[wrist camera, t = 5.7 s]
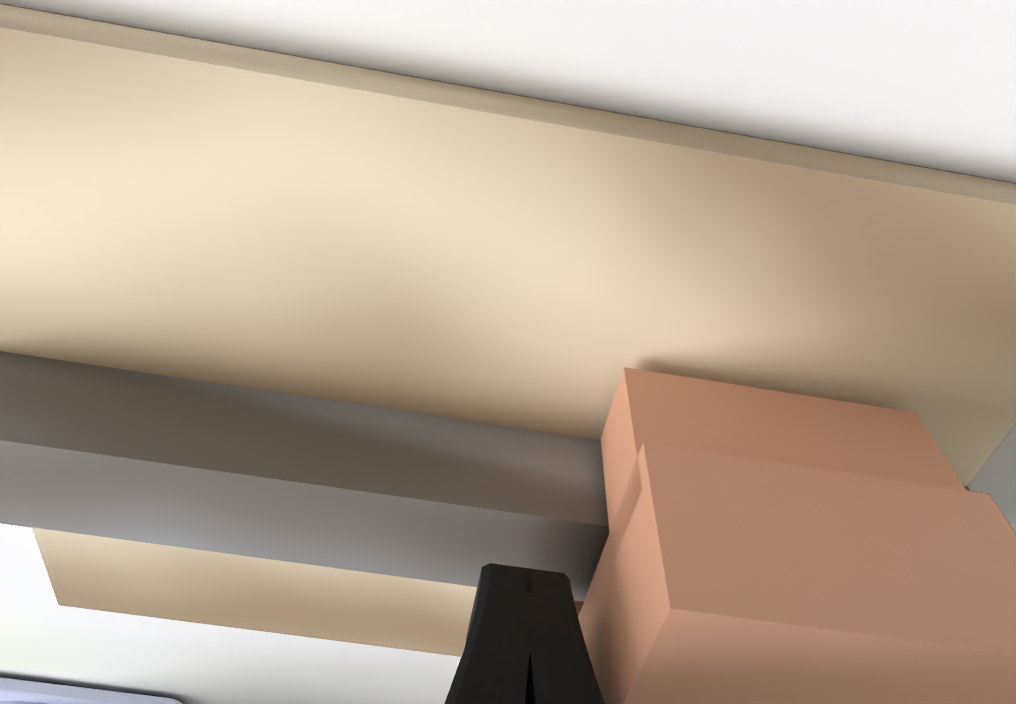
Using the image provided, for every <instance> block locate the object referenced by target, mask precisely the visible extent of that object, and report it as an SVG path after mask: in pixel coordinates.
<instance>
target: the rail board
mask: <svg viewBox="0 0 1016 704" xmlns="http://www.w3.org/2000/svg"><path fill="white" fill-rule="evenodd" d="M624 367H626V368H632V369H639V370H645V371H651V372H658V373H664V374H671V375H677V376H684V377H690V378H697V379H703V380H710V381H716V382H722V383H729V384H735V385H742V386H748V387H755V388H761V389H768V390H774V391H780V392H787V393H793V394H800V395H806V396H813V397H819V398H826V399H832V400H839V401H845V402H851V403H858V404H864V405H871V406H877V407H884V408H890V409H897V410H903V411H909V412H916V413H917V414H918V416H919V418H920V419H921V421H922V422H923V424H924V425H925V427H926V428H927V430H928V432H929V433H930V435H931V436H932V438H933V439H934V441H935V442H936V444H937V446H938V447H939V449H940V450H941V452H942V453H943V455H944V456H945V458H946V460H947V461H948V463H949V464H950V466H951V467H952V469H953V470H954V472H955V473H956V475H957V477H958V478H959V480H960V481H961V483H962V484H963V486H964V487H965V489H966V490H967V491H970V490H969V488H968V487H967V486H968V485H969V483H970V482H971V481H972V480H973V478H974V477H975V476H976V474H977V473H978V472H979V470H980V469H981V468H982V467H983V465H984V464H985V463H986V461H987V460H988V459H989V458H990V456H991V455H992V454H993V452H994V451H995V450H996V448H997V447H998V446H999V445H1000V443H1001V442H1002V441H1003V439H1004V438H1005V437H1006V435H1007V434H1008V433H1009V432H1010V430H1011V429H1012V428H1013V426H1014V425H1015V424H1016V184H1015V183H1009V182H1003V181H998V180H992V179H986V178H981V177H975V176H969V175H964V174H958V173H952V172H947V171H941V170H936V169H930V168H924V167H919V166H913V165H907V164H902V163H896V162H890V161H885V160H879V159H873V158H868V157H862V156H856V155H851V154H845V153H839V152H834V151H828V150H822V149H817V148H811V147H806V146H800V145H794V144H789V143H783V142H777V141H772V140H766V139H760V138H755V137H749V136H743V135H738V134H732V133H726V132H721V131H715V130H709V129H704V128H698V127H692V126H687V125H681V124H676V123H670V122H664V121H659V120H653V119H647V118H642V117H636V116H630V115H625V114H619V113H613V112H608V111H602V110H596V109H591V108H585V107H579V106H574V105H568V104H562V103H557V102H551V101H546V100H540V99H534V98H529V97H523V96H517V95H512V94H506V93H500V92H495V91H489V90H483V89H478V88H472V87H466V86H461V85H455V84H449V83H444V82H438V81H433V80H427V79H421V78H416V77H410V76H404V75H399V74H393V73H387V72H382V71H376V70H370V69H365V68H359V67H353V66H348V65H342V64H336V63H331V62H325V61H319V60H314V59H308V58H303V57H297V56H291V55H286V54H280V53H274V52H269V51H263V50H257V49H252V48H246V47H240V46H235V45H229V44H223V43H218V42H212V41H206V40H201V39H195V38H189V37H184V36H178V35H173V34H167V33H161V32H156V31H150V30H144V29H139V28H133V27H127V26H122V25H116V24H110V23H105V22H99V21H93V20H88V19H82V18H76V17H71V16H65V15H59V14H54V13H48V12H43V11H37V10H31V9H26V8H20V7H14V6H9V5H3V4H0V523H3V524H10V525H18V526H25V527H32V528H33V531H34V534H35V537H36V540H37V543H38V546H39V549H40V552H41V555H42V558H43V560H44V563H45V566H46V569H47V572H48V575H49V578H50V581H51V584H52V587H53V590H54V593H55V595H56V598H57V601H58V604H59V605H62V606H70V607H78V608H86V609H93V610H101V611H109V612H117V613H125V614H132V615H140V616H148V617H156V618H164V619H171V620H179V621H187V622H195V623H203V624H210V625H218V626H226V627H234V628H242V629H249V630H257V631H265V632H273V633H281V634H288V635H296V636H304V637H312V638H320V639H327V640H335V641H343V642H351V643H359V644H366V645H374V646H382V647H390V648H398V649H405V650H413V651H421V652H429V653H437V654H444V655H452V656H460V657H462V654H463V651H464V648H465V644H466V636H467V631H468V627H469V622H470V618H471V613H472V609H473V604H474V600H475V595H476V591H477V586H478V582H479V577H480V573H481V568H482V567H483V566H485V565H487V564H489V563H494V564H501V565H508V566H516V567H523V568H530V569H538V570H545V571H552V572H560V573H565V575H566V576H567V577H568V578H569V579H570V584H571V589H572V594H573V598H574V600H576V601H584V600H585V598H586V595H587V592H588V590H589V587H590V584H591V582H592V579H593V576H594V573H595V571H596V568H597V565H598V563H599V560H600V557H601V555H602V552H603V549H604V546H605V544H606V541H607V538H608V536H609V522H608V511H607V501H606V490H605V479H604V469H603V458H602V448H601V436H602V433H603V430H604V427H605V424H606V421H607V418H608V414H609V411H610V408H611V405H612V402H613V399H614V396H615V393H616V390H617V386H618V383H619V380H620V377H621V374H622V371H623V368H624Z"/></svg>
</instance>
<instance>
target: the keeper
mask: <svg viewBox="0 0 1016 704" xmlns="http://www.w3.org/2000/svg"><path fill="white" fill-rule="evenodd" d="M601 448H602V458H603V469H604V479H605V490H606V501H607V511H608V522H609V536H608V538H607V541H606V544H605V546H604V549H603V552H602V555H601V557H600V560H599V563H598V565H597V568H596V571H595V573H594V576H593V579H592V582H591V584H590V587H589V590H588V592H587V595H586V598H585V600H584V601H576V600H574V602H575V606H576V611H577V615H578V618H579V622H580V626H581V630H582V633H583V637H584V640H585V644H586V647H587V650H588V653H589V657H590V660H591V663H592V667H593V670H594V673H595V676H596V679H597V682H598V685H599V688H600V691H601V694H602V697H603V699H604V702H605V704H1016V533H1015V531H1014V530H1013V528H1012V527H1011V525H1010V524H1009V522H1008V521H1007V519H1006V518H1005V516H1004V515H1003V513H1002V512H1001V510H1000V509H999V507H998V506H997V505H996V503H995V502H994V500H993V499H992V497H991V496H990V494H987V493H981V492H974V491H967V490H966V489H965V487H964V486H963V484H962V483H961V481H960V480H959V478H958V477H957V475H956V473H955V472H954V470H953V469H952V467H951V466H950V464H949V463H948V461H947V460H946V458H945V456H944V455H943V453H942V452H941V450H940V449H939V447H938V446H937V444H936V442H935V441H934V439H933V438H932V436H931V435H930V433H929V432H928V430H927V428H926V427H925V425H924V424H923V422H922V421H921V419H920V418H919V416H918V414H917V413H916V412H909V411H903V410H897V409H890V408H884V407H877V406H871V405H864V404H858V403H851V402H845V401H839V400H832V399H826V398H819V397H813V396H806V395H800V394H793V393H787V392H780V391H774V390H768V389H761V388H755V387H748V386H742V385H735V384H729V383H722V382H716V381H710V380H703V379H697V378H690V377H684V376H677V375H671V374H664V373H658V372H651V371H645V370H639V369H632V368H626V367H624V368H623V371H622V374H621V377H620V380H619V383H618V386H617V390H616V393H615V396H614V399H613V402H612V405H611V408H610V411H609V414H608V418H607V421H606V424H605V427H604V430H603V433H602V436H601Z"/></svg>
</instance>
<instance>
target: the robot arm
mask: <svg viewBox="0 0 1016 704" xmlns="http://www.w3.org/2000/svg"><path fill="white" fill-rule="evenodd" d="M0 704H183V703H181V702H180V701H177V700H175V699H171V698H165V697H157V696H149V695H140V694H132V693H124V692H116V691H107V690H99V689H91V688H83V687H75V686H66V685H58V684H50V683H42V682H33V681H25V680H17V679H9V678H1V677H0ZM445 704H605V702H604V699H603V697H602V694H601V691H600V688H599V685H598V682H597V679H596V676H595V673H594V670H593V667H592V663H591V660H590V657H589V653H588V650H587V647H586V644H585V640H584V637H583V633H582V630H581V626H580V622H579V618H578V615H577V611H576V606H575V602H574V598H573V594H572V589H571V584H570V579H569V578H568V577H567V576H566V575H565V573H560V572H552V571H545V570H538V569H530V568H523V567H516V566H508V565H501V564H494V563H489V564H487V565H485V566H483V567H482V568H481V573H480V577H479V582H478V586H477V591H476V595H475V600H474V604H473V609H472V613H471V618H470V622H469V627H468V631H467V636H466V644H465V648H464V651H463V654H462V657H461V660H460V663H459V665H458V668H457V671H456V674H455V676H454V679H453V682H452V685H451V688H450V690H449V693H448V696H447V699H446V701H445Z"/></svg>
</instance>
